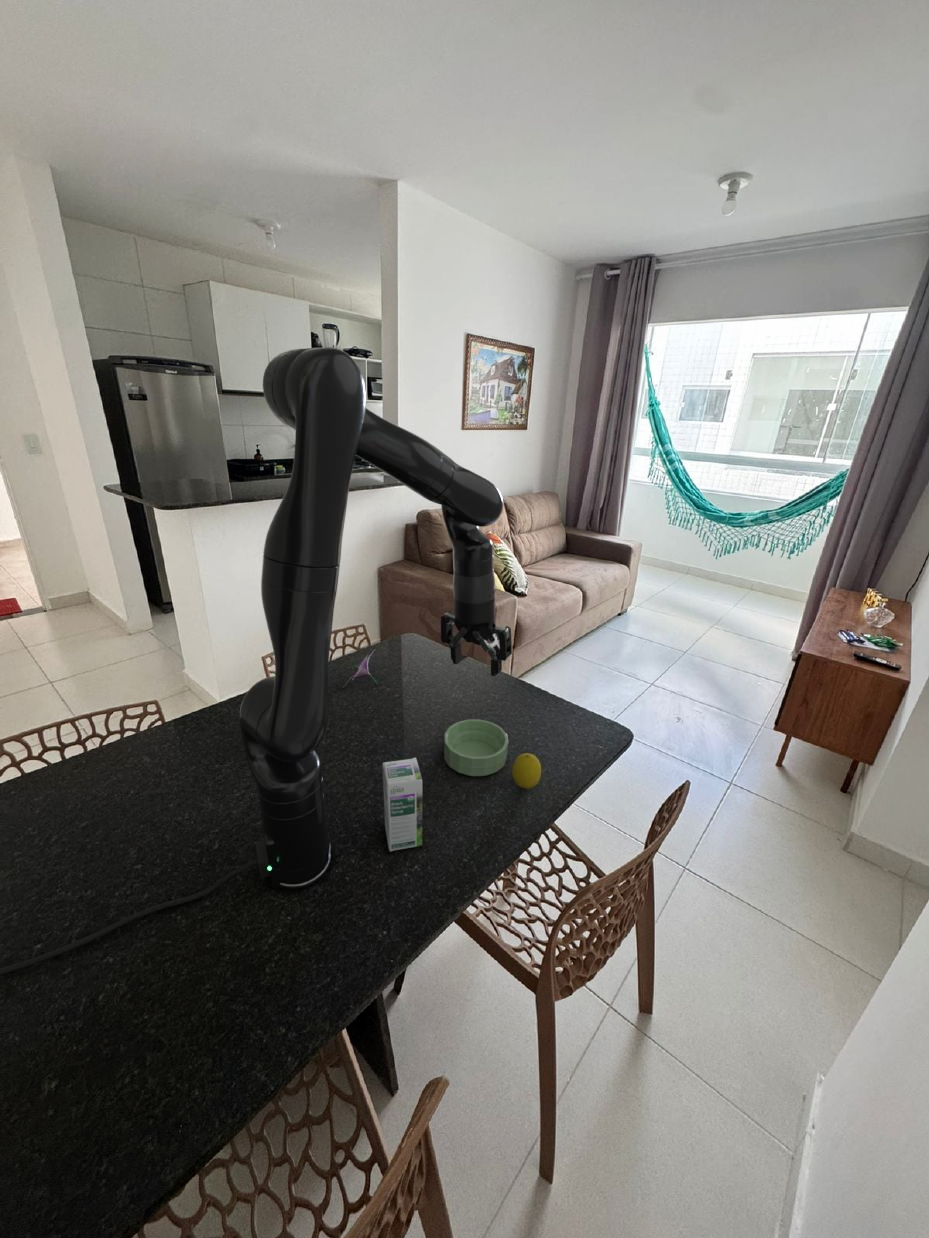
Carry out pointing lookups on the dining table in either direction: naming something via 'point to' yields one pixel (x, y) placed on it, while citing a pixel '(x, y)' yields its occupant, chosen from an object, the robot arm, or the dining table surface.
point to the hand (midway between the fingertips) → (476, 668)
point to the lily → (363, 669)
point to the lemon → (526, 770)
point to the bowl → (475, 747)
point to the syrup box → (402, 803)
